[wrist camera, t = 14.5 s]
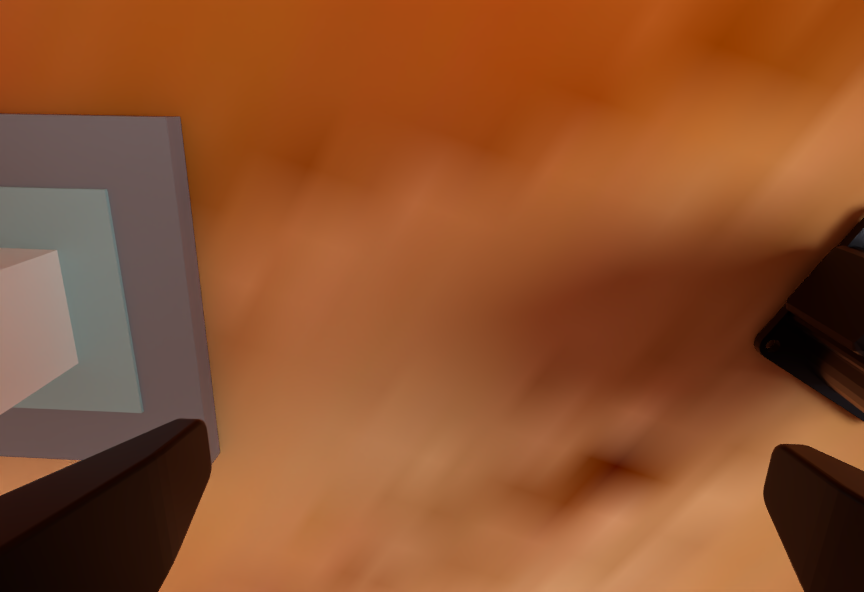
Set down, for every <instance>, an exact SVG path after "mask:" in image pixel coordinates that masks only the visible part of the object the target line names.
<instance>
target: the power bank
mask: <svg viewBox="0 0 864 592" xmlns="http://www.w3.org/2000/svg"><path fill="white" fill-rule="evenodd" d="M77 364H78V358H77V352H76V347H75V342H74V336H73V331H72V326H71V321H70V315H69V310H68V305H67V300H66V294H65V289H64V284H63V278H62V273H61V268H60V263H59V257H58V252H57V250H44V249H19V248H0V415H1V414H3V413H4V412H6V411H7V410H9V409H10V408H12V407H13V406H15V405H16V404H18V403H19V402H21V401H22V400H24V399H25V398H27V397H28V396H30V395H31V394H33V393H34V392H36V391H37V390H39V389H40V388H42V387H43V386H45V385H46V384H48V383H49V382H51V381H52V380H54V379H55V378H57V377H58V376H60V375H61V374H63V373H64V372H66V371H67V370H69V369H70V368H72V367H74V366H75V365H77Z"/></svg>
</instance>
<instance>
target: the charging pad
mask: <svg viewBox="0 0 864 592" xmlns="http://www.w3.org/2000/svg"><path fill="white" fill-rule="evenodd" d="M0 248H19V249H44V250H57V252H58V257H59V263H60V268H61V273H62V278H63V284H64V289H65V294H66V300H67V305H68V310H69V315H70V321H71V326H72V331H73V336H74V342H75V347H76V352H77V358H78V364H77V365H75V366H74V367H72V368H70V369H69V370H67V371H66V372H64V373H63V374H61V375H60V376H58V377H57V378H55V379H54V380H52V381H51V382H49V383H48V384H46V385H45V386H43V387H42V388H40V389H39V390H37V391H36V392H34V393H33V394H31V395H30V396H28V397H27V398H25V399H24V400H22V401H21V402H19V403H18V404H16V405H15V406H13V407H12V408H10V409H9V410H7V411H6V412H4V413H3V414H1V415H0V456H6V457H27V458H47V459H68V460H84V459H86V458H88V457H90V456H93V455H95V454H97V453H100V452H102V451H104V450H106V449H109V448H111V447H113V446H116V445H118V444H120V443H122V442H125V441H127V440H129V439H132V438H134V437H136V436H139V435H141V434H143V433H145V432H148V431H150V430H152V429H155V428H157V427H159V426H161V425H164V424H166V423H168V422H171V421H173V420H175V419H179V418H187V419H201V420H203V421H204V422H205V424H206V426H207V431H208V439H209V447H210V455H211V464H212V463H213V462H214V460H215V459H216V458H217V456H218V455H219V453H220V448H219V439H218V431H217V423H216V414H215V406H214V397H213V389H212V381H211V372H210V364H209V356H208V347H207V339H206V330H205V322H204V314H203V305H202V297H201V288H200V280H199V272H198V263H197V255H196V246H195V238H194V230H193V221H192V213H191V204H190V196H189V188H188V179H187V171H186V162H185V154H184V146H183V137H182V129H181V120H180V117H168V116H113V115H59V114H5V113H0Z"/></svg>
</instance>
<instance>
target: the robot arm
mask: <svg viewBox="0 0 864 592" xmlns="http://www.w3.org/2000/svg"><path fill="white" fill-rule="evenodd" d="M771 340H775V343H774V344H773V346H771V347H770V348H766V345H767V343H768V342H769V341H771ZM754 346H755V349H756V350H757V351H758V352H759V353H760V354H762V355H763V356H764V357H766V358H767V359H769V360H770V361H772V362H773V363H775V364H776V365H778V366H779V367H781V368H783V369H784V370H786V371H787V372H789V373H790V374H792V375H793V376H795V377H796V378H798V379H799V380H801V381H803V382H804V383H806V384H807V385H809V386H810V387H812V388H813V389H815V390H816V391H818V392H819V393H821V394H823V395H824V396H826V397H827V398H829V399H830V400H832V401H833V402H835V403H836V404H838V405H839V406H841V407H843V408H844V409H846V410H847V411H849V412H850V413H852V414H853V415H855V416H856V417H858V418H860V419H861V420H863V421H864V218H863V219H862V220H861V221H860V222H859V223H858V224H857V225H856V226H855V228H854V229H853V230H852V231H851V232H850V233H849V234H848V235H847V236H846V238H845V239H844V240H843V241H842V242H841V243H840V244H839V245H838V246H837V247H835V248H833V249H832V250H831V252H830V253H829V254H828V255H827V256H826V257H825V258H824V259H823V260H822V262H821V263H820V264H819V265H818V266H817V267H816V268H815V269H814V270H813V272H812V273H811V274H810V275H809V276H808V277H807V278H806V279H805V280H804V282H803V283H802V284H801V285H800V286H799V287H798V288H797V289H796V290H795V292H794V293H793V294H792V295H791V296H790V297H789V298H788V299H787V302H786V304H785V305H784V306H783V307H782V309H781V310H780V311H779V312H778V313H777V314H776V315H775V316H774V317H773V319H772V320H771V321H770V322H769V323H768V324H767V325H766V326H765V327H764V329H763V330H762V331H761V332H760V333H759V334H758V335H757V337H756V338H755V341H754ZM211 465H212V464H211V455H210V447H209V439H208V431H207V426H206V424H205V422H204V421H203V420H201V419H187V418H179V419H175V420H173V421H171V422H168V423H166V424H164V425H161V426H159V427H157V428H155V429H152V430H150V431H148V432H145V433H143V434H141V435H139V436H136V437H134V438H132V439H129V440H127V441H125V442H122V443H120V444H118V445H116V446H113V447H111V448H109V449H106V450H104V451H102V452H100V453H97V454H95V455H93V456H90V457H88V458H86V459H84V460H81V461H79V462H77V463H74V464H72V465H70V466H67V467H65V468H63V469H61V470H58V471H56V472H54V473H51V474H49V475H47V476H45V477H42V478H40V479H38V480H35V481H33V482H31V483H29V484H26V485H24V486H22V487H19V488H17V489H15V490H13V491H10V492H8V493H6V494H3V495H1V496H0V592H158V591H159V589H160V588H161V586H162V584H163V582H164V580H165V578H166V577H167V575H168V573H169V571H170V569H171V567H172V565H173V563H174V561H175V559H176V556H177V554H178V552H179V550H180V548H181V545H182V543H183V540H184V538H185V536H186V533H187V531H188V528H189V526H190V524H191V521H192V519H193V516H194V514H195V512H196V509H197V507H198V504H199V502H200V500H201V497H202V495H203V492H204V490H205V488H206V485H207V483H208V480H209V478H210V474H211ZM763 495H764V501H765V505H766V507H767V510H768V512H769V514H770V517H771V519H772V521H773V523H774V526H775V528H776V530H777V532H778V535H779V537H780V539H781V541H782V544H783V546H784V548H785V550H786V553H787V555H788V557H789V559H790V562H791V564H792V566H793V568H794V571H795V573H796V575H797V577H798V580H799V582H800V584H801V586H802V588H803V590H804V592H864V471H862V470H860V469H858V468H855V467H853V466H851V465H849V464H847V463H845V462H842V461H840V460H838V459H836V458H834V457H831V456H829V455H827V454H825V453H823V452H820V451H818V450H816V449H814V448H812V447H809V446H806V445H796V444H780V445H778V446H776V447H775V448H774V450H773V452H772V455H771V459H770V464H769V468H768V472H767V476H766V480H765V485H764V490H763Z"/></svg>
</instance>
